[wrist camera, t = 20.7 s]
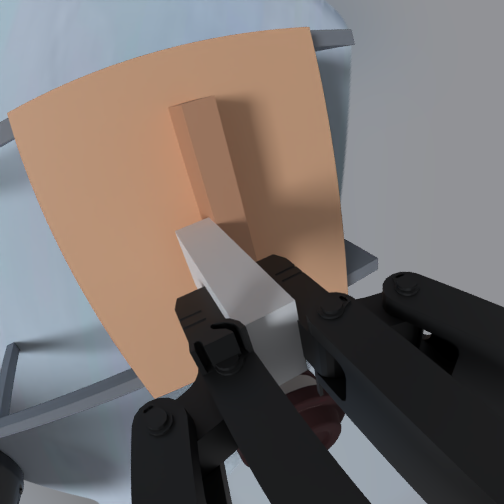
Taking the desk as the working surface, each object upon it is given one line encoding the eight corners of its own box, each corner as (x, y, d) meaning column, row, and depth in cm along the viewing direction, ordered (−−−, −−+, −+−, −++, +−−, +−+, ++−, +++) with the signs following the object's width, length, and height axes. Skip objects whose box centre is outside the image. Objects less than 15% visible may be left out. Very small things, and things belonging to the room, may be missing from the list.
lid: (151, 387, 18) (164, 430, 15) (13, 113, 10) (-14, 112, 7) (339, 294, 22) (372, 320, 19) (297, 30, 13) (341, 17, 11)
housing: (12, 353, 23) (-1, 438, 15) (-76, 197, 15) (-143, 243, 6) (303, 224, 32) (377, 269, 23) (268, 51, 23) (351, 29, 15)
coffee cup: (269, 368, 38) (337, 458, 26) (191, 385, 34) (245, 494, 22) (281, 301, 35) (373, 392, 22) (191, 313, 30) (260, 436, 18)
